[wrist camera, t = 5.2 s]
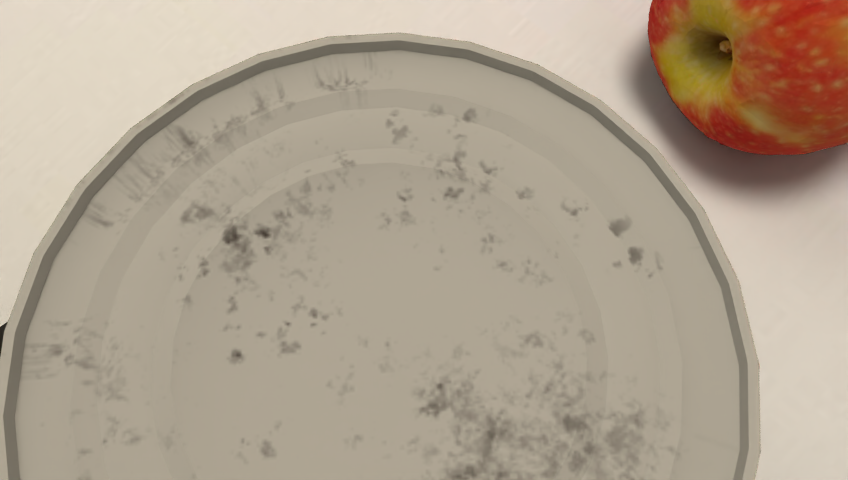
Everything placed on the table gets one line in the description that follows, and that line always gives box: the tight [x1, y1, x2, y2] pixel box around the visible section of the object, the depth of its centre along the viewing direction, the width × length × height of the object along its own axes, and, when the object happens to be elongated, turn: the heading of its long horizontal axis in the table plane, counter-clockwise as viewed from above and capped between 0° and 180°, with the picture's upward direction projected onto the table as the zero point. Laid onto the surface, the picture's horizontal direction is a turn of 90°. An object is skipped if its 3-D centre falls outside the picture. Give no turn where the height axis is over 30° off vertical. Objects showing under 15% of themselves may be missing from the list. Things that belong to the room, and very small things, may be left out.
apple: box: [648, 0, 848, 155], centre depth 20 cm, size 8×8×8 cm
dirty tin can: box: [0, 33, 761, 480], centre depth 14 cm, size 10×10×12 cm
